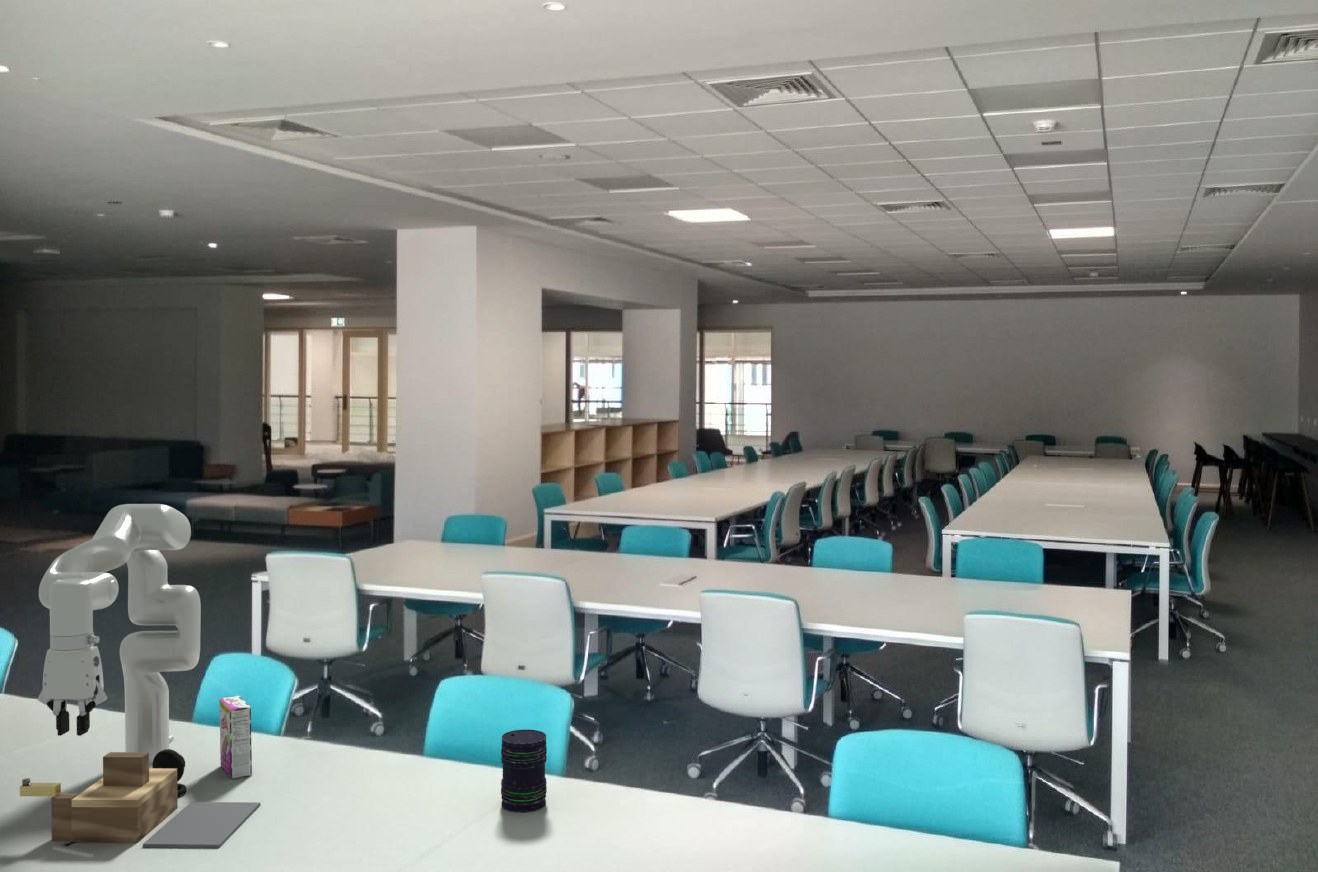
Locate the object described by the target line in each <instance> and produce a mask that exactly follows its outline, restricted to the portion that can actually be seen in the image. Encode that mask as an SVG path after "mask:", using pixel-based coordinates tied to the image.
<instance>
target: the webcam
mask: <svg viewBox="0 0 1318 872" xmlns="http://www.w3.org/2000/svg"><path fill="white" fill-rule="evenodd" d="M152 767H153V768H161V769H177V797H178V798H180V797H182V796H184V795H185V794H186V793H187V791H188V788H187V786H186V784H182V783H180V782H179V781H180V780H181V779H182V777H183V775H184V773H185V767H186V760H185V758H184V756H183V755H182V754H180V753H179V752H177V751H176V750H174V749H170V748H169V749H165V750H162V751H160V752H158V753H157V754H156V756H155V757H154V760H153V764H152Z"/></svg>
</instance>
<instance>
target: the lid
mask: <svg viewBox="0 0 1318 872" xmlns="http://www.w3.org/2000/svg"><path fill="white" fill-rule="evenodd" d="M176 776H177V769H161V768H149V752H125V751H123V752H122V751H110V752H108V753H107V754H105V755H104V756H102V778H100V779H98V781H96V782H94V783H93V784H92V785H90V786H89V787H88V788H85V789H84V790H83V791H82V792H80V793H78V795H77V796H76V797H75V798H73V799H72V807H139V806H140V805H142V804H143V803H144V802H145V801H146V800H148V799H149V798H150V797H151V796H153V795H154V794H155V793H156V792H158V791H159V790H160V789H161V788H162V787H164V786H165V785H166V784H167V783H169V782H170V781H171V780H172V779H174V778H175V777H176Z"/></svg>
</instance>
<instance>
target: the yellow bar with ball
mask: <svg viewBox="0 0 1318 872" xmlns="http://www.w3.org/2000/svg"><path fill="white" fill-rule="evenodd" d="M60 793H62V783H60V782H31V778H26V777H25V778H23V779H22V780H21V785H20V786H19V797H45V798H46V797H48V798H49V797H50V798H52V797H55V796H57V795H58V794H60Z"/></svg>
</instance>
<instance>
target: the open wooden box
mask: <svg viewBox="0 0 1318 872" xmlns="http://www.w3.org/2000/svg"><path fill="white" fill-rule="evenodd" d="M177 783H178V782H177V776H176V777H175V778H174V779H172V780H171V781H170V782H169V783H167V784H166V785H165V786H164V787H162V788H161V789H160V790H159V791H158V792H156V793H155V794H154V795H153V796H151V797H150V798H149V799H148V800H146V801H145V802H144V803H143V804H142V805H140V806H139V807H72V799H73V798H75V797H76V796H77V795H79V792H77V793H76V792H75V793H69V792H68V793H67V792H65V793H63V792H61V793H60V794H58V795H57V796H55V797H50V799H51V806H50V807H51V810H50V811H51V813H50V815H51V841H55V842H56V841H58V842H59V841H61V842H62V841H71V843H121V844H122V843H125V844H127V843H128V844H130V843H134V844H135V843H139V842H140V841H142V840H143V838H145V837H146V836H147V835H148V834H149V833H151V832H152V831H153V830H154V829H155V828H156V827H158V826H159V825H160V824H161V823H162V822H163V821H164V820H166V818H168V817H169V816H170V815H171V814H173V813H174V812H175V811H176V810H178V808H179V806H178V801H179V800H178V798H179V797H177V791H178V790H177Z"/></svg>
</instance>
